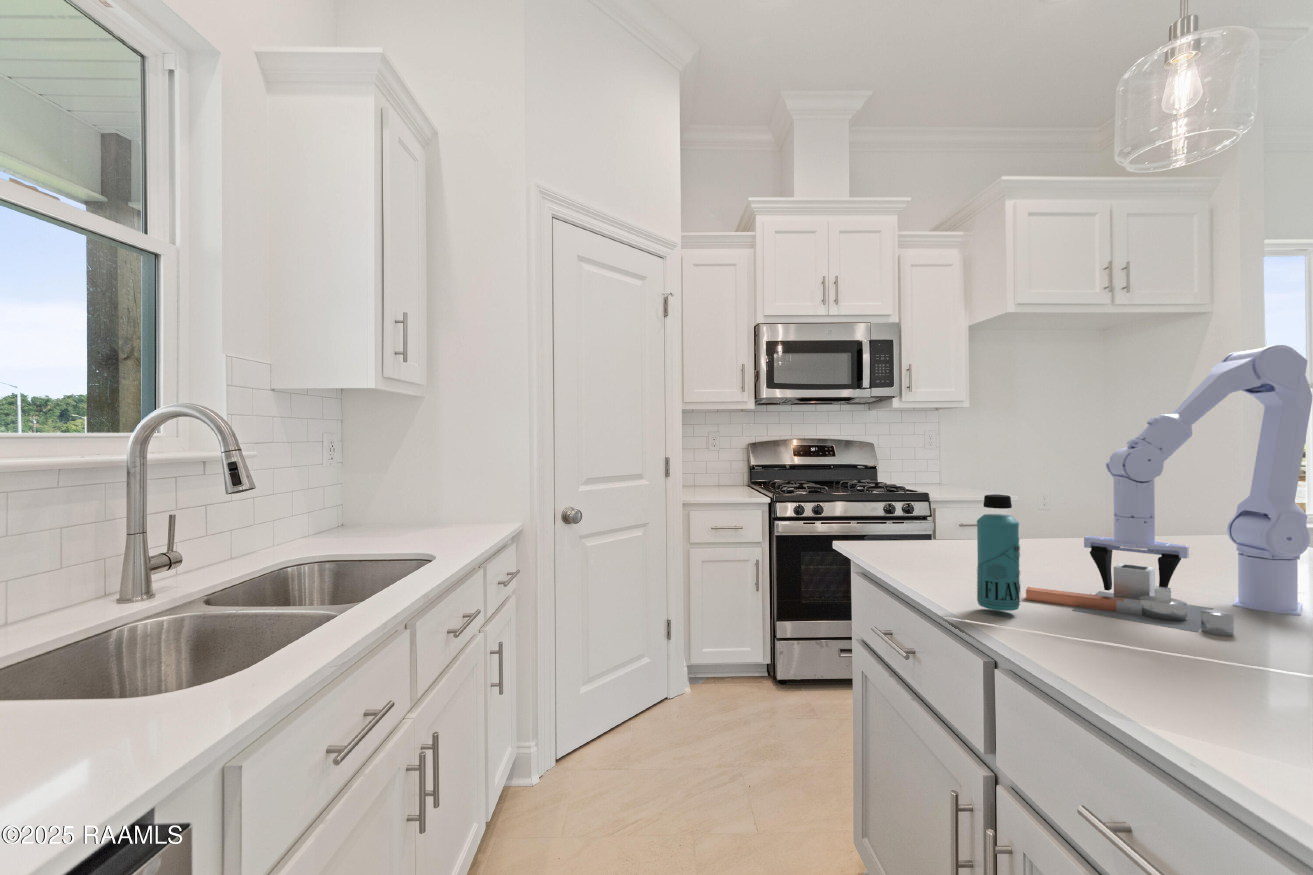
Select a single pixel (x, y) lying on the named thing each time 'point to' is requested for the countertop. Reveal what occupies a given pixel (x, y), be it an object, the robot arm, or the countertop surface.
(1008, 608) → the beverage bottle
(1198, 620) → the mat
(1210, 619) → the socket
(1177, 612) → the ratchet
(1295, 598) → the robot arm
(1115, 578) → the socket
